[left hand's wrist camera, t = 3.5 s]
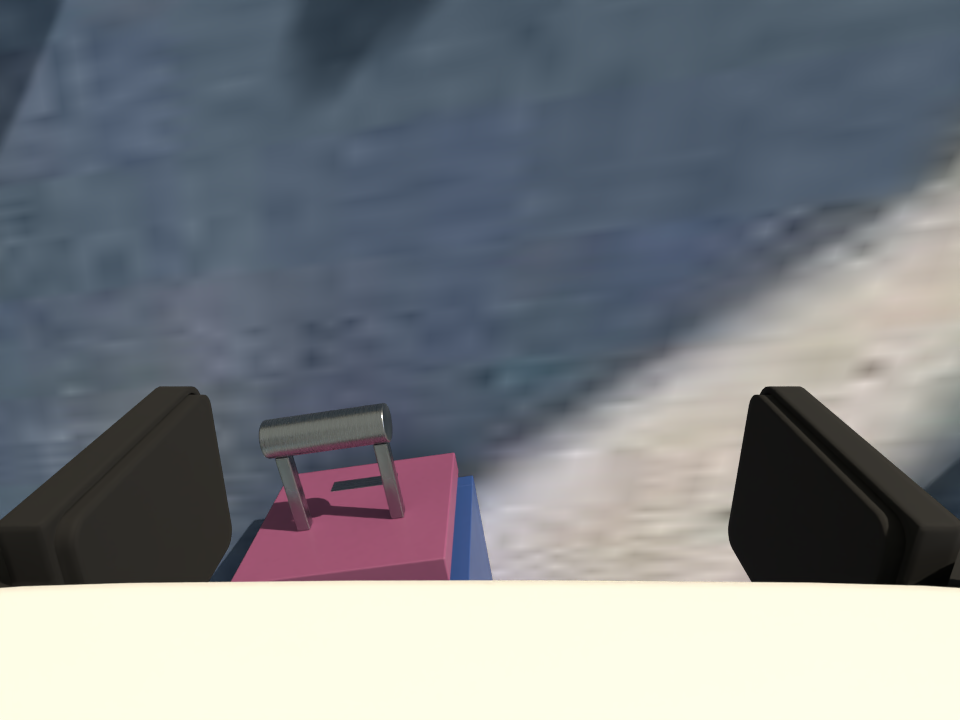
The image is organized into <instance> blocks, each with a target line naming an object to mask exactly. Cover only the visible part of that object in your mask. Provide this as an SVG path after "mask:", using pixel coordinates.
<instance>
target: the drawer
mask: <svg viewBox="0 0 960 720" xmlns="http://www.w3.org/2000/svg"><path fill="white" fill-rule="evenodd" d="M391 439H392V420H391V414H390V411H389V408H388V406H387V404H385V403H381V404H374V405H367V406H360V407H353V408H346V409H339V410H332V411H325V412H318V413H311V414H304V415H297V416H290V417H283V418H276V419H269V420H265V421H263V422H262V423H261V425H260V429H259V442H260V447H261V450H262V453H263V454H264V456H265V457H266V458H269V459H272V458H276V459H275V460H276V464H277V467H278V470H279V473H280V476H281V480H282V483H283V487H282V489H281V491H280V493H279V494H278V496H277V498H276V500H275V502H274V504H273V505H272V507H271V509H270V511H269V513H268V514H267V516H266V518H265V520H264V522H263V524H262V525H261V527H260V529H259V531H258V533H257V535H256V536H255V538H254V540H253V542H252V544H251V545H250V547H249V549H248V551H247V553H246V555H245V556H244V558H243V560H242V562H241V564H240V566H239V567H238V569H237V571H236V573H235V575H234V576H233V578H232V580H231V582H274V581H418V580H450V572H451V559H452V546H453V533H454V520H455V507H456V494H457V481H458V467H457V462H456V457H455V454H454V453H448V454H441V455H433V456H426V457H419V458H411V459H404V460H397V461H394V460H393V456H392V451H391V447H390V443H389V442H390V441H391ZM372 444H374V445H373V447H374V451H375V455H376V459H377V463H375V464H368V465H360V466H353V467H346V468H338V469H331V470H324V471H317V472H309V473H302V474H298V471H297V468H296V464H295V461H294V458H293V455H300V454H308V453H315V452H322V451H329V450H336V449H343V448H351V447H358V446H365V445H372Z"/></svg>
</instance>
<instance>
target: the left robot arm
mask: <svg viewBox="0 0 960 720" xmlns="http://www.w3.org/2000/svg"><path fill="white" fill-rule="evenodd" d="M231 535H232V526H231V519H230V513H229V508H228V502H227V496H226V490H225V484H224V478H223V473H222V467H221V461H220V455H219V449H218V443H217V437H216V432H215V426H214V420H213V414H212V408H211V403H210V400H209V398H208V397H207V396H206V395H200V393H199V391H198V390H197V389H196V388H195V387H158V388H156V389H155V390H154V391H152V392H151V393H150V394H149V395H148V396H147V397H145V398H144V399H143V400H142V401H141V402H139V403H138V404H137V405H136V406H135V407H134V408H132V409H131V410H130V411H129V412H128V413H126V414H125V415H124V416H123V417H122V418H121V419H119V420H118V421H117V422H116V423H115V424H113V425H112V426H111V427H110V428H109V429H108V430H106V431H105V432H104V433H103V434H102V435H100V436H99V437H98V438H97V439H96V440H95V441H93V442H92V443H91V444H90V445H89V446H87V447H86V448H85V449H84V450H83V451H82V452H80V453H79V454H78V455H77V456H76V457H74V458H73V459H72V460H71V461H70V462H69V463H67V464H66V465H65V466H64V467H63V468H61V469H60V470H59V471H58V472H57V473H56V474H54V475H53V476H52V477H51V478H50V479H48V480H47V481H46V482H45V483H44V484H43V485H41V486H40V487H39V488H38V489H37V490H36V491H34V492H33V493H32V494H31V495H30V496H28V497H27V498H26V499H25V500H24V501H23V502H21V503H20V504H19V505H18V506H17V507H15V508H14V509H13V510H12V511H11V512H10V513H8V514H7V515H6V516H5V517H4V518H2V519H1V520H0V720H960V520H959V519H958V518H956V517H955V516H954V515H953V514H952V513H950V512H949V511H948V510H947V509H946V508H945V507H943V506H942V505H941V504H940V503H939V502H937V501H936V500H935V499H934V498H933V497H932V496H930V495H929V494H928V493H927V492H926V491H924V490H923V489H922V488H921V487H920V486H919V485H917V484H916V483H915V482H914V481H913V480H912V479H910V478H909V477H908V476H907V475H906V474H904V473H903V472H902V471H901V470H900V469H899V468H897V467H896V466H895V465H894V464H893V463H891V462H890V461H889V460H888V459H887V458H886V457H884V456H883V455H882V454H881V453H880V452H878V451H877V450H876V449H875V448H874V447H873V446H871V445H870V444H869V443H868V442H867V441H865V440H864V439H863V438H862V437H861V436H860V435H858V434H857V433H856V432H855V431H854V430H852V429H851V428H850V427H849V426H848V425H847V424H845V423H844V422H843V421H842V420H841V419H839V418H838V417H837V416H836V415H835V414H834V413H832V412H831V411H830V410H829V409H828V408H826V407H825V406H824V405H823V404H822V403H821V402H819V401H818V400H817V399H816V398H815V397H813V396H812V395H811V394H810V393H809V392H808V391H806V390H805V389H804V388H802V387H765V388H764V389H763V390H762V391H761V393H760V395H754V396H753V397H752V398H751V400H750V403H749V408H748V414H747V420H746V426H745V432H744V437H743V443H742V449H741V455H740V461H739V467H738V472H737V478H736V484H735V490H734V496H733V502H732V508H731V513H730V519H729V526H728V535H729V541H730V544H731V547H732V549H733V551H734V552H735V554H736V556H737V558H738V559H739V561H740V563H741V565H742V566H743V568H744V570H745V571H746V573H747V575H748V577H749V578H750V580H751V582H678V581H561V580H418V581H274V582H209V580H210V578H211V577H212V575H213V573H214V571H215V570H216V568H217V566H218V565H219V563H220V561H221V559H222V558H223V556H224V554H225V552H226V551H227V549H228V547H229V544H230V541H231Z"/></svg>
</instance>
